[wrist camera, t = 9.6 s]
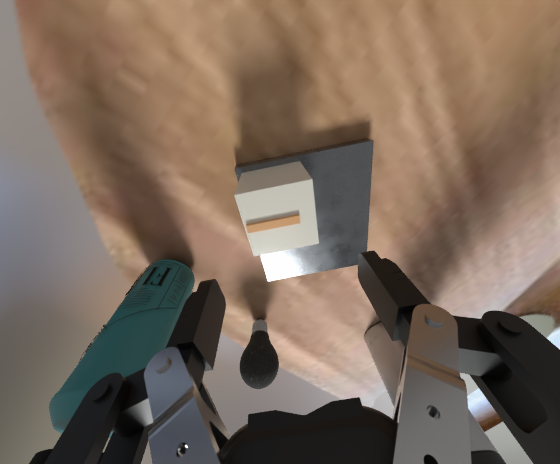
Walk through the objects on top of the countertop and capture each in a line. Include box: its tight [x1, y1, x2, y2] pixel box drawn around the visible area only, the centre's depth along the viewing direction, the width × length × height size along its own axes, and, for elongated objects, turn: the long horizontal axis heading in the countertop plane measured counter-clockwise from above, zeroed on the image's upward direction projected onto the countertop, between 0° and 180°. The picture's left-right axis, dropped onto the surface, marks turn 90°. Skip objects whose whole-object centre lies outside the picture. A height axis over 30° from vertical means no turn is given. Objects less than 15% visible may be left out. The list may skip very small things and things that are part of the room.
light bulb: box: [240, 319, 279, 389], centre depth 31 cm, size 6×6×10 cm
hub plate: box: [235, 139, 373, 281], centre depth 23 cm, size 14×16×6 cm
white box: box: [234, 161, 319, 256], centre depth 19 cm, size 6×6×6 cm
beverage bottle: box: [29, 259, 195, 464], centre depth 20 cm, size 6×7×20 cm
